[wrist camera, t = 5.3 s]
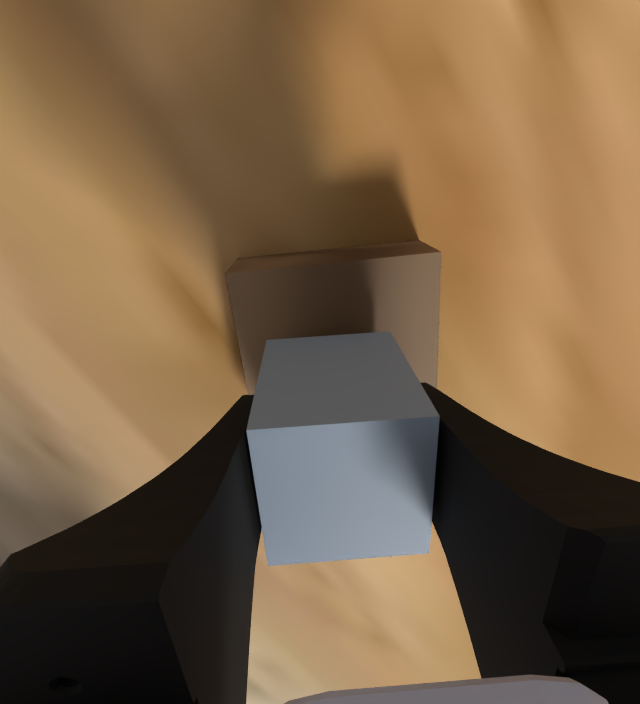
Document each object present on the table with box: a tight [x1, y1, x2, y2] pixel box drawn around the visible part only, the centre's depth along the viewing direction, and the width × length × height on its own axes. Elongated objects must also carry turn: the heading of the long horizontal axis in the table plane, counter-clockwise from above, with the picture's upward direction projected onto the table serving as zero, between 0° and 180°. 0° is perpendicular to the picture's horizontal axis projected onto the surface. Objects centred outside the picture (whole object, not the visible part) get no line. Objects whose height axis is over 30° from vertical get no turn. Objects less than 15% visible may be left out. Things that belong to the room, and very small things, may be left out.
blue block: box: [246, 331, 440, 566], centre depth 11 cm, size 4×4×5 cm
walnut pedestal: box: [225, 240, 441, 395], centre depth 15 cm, size 7×7×3 cm
